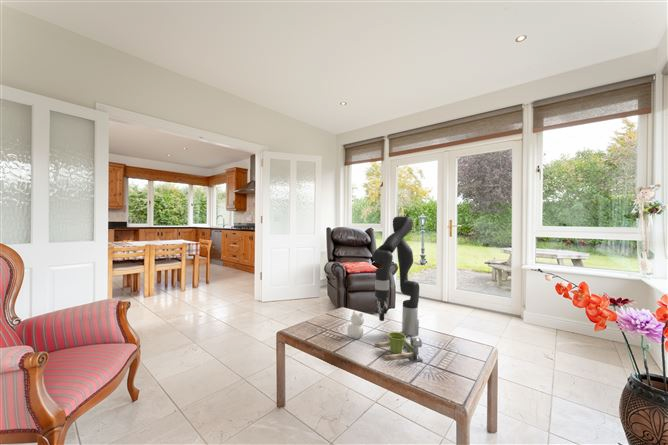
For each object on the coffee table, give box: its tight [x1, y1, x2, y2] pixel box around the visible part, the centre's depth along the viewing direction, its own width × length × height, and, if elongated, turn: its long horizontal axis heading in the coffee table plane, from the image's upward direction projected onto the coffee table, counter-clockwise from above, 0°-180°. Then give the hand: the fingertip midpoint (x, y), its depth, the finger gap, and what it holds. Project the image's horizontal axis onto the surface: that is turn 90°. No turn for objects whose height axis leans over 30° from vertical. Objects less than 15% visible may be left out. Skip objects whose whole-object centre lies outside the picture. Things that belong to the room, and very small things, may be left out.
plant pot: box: [387, 331, 407, 354], centre depth 143 cm, size 9×9×9 cm
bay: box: [374, 339, 419, 361], centre depth 143 cm, size 18×15×3 cm
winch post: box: [407, 335, 424, 363], centre depth 135 cm, size 7×5×13 cm
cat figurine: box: [347, 310, 365, 340], centre depth 160 cm, size 9×12×15 cm
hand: (381, 320), depth 141 cm, fingers closed
